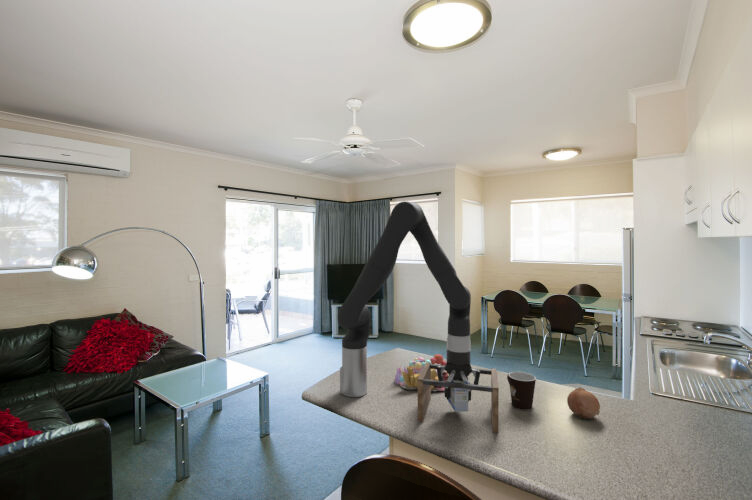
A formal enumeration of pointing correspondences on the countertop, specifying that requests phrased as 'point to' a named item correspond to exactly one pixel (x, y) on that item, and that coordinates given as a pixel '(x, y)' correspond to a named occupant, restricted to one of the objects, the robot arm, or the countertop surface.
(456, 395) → the medicine box
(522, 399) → the coffee mug
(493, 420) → the frame
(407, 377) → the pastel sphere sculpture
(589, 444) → the countertop surface
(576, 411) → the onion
